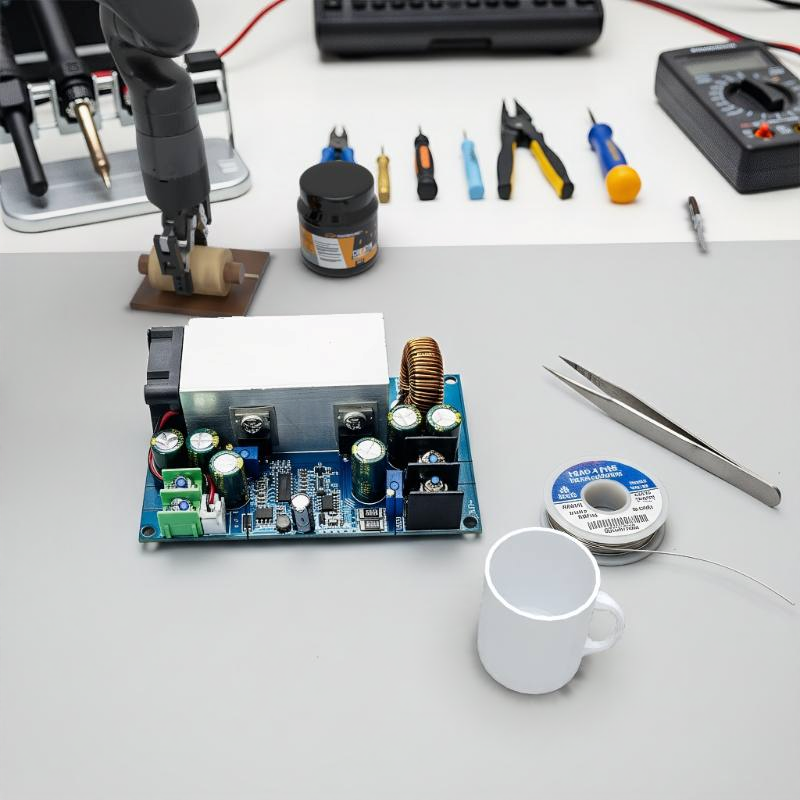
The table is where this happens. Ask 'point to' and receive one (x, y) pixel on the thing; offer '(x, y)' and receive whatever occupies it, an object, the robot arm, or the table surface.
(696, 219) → the pocket knife
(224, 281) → the rolling pin
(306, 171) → the supplement container
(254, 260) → the pastry board
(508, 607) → the mug
